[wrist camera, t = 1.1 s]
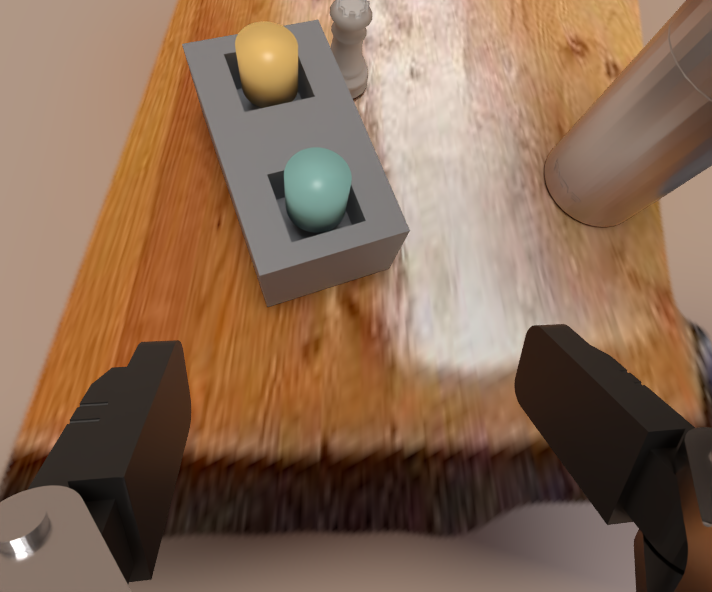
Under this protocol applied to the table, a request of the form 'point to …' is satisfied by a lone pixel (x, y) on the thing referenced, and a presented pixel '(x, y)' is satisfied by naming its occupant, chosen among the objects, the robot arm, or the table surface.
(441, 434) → the table surface
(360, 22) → the rook chess piece
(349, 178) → the teal button
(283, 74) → the amber button
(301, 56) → the console
